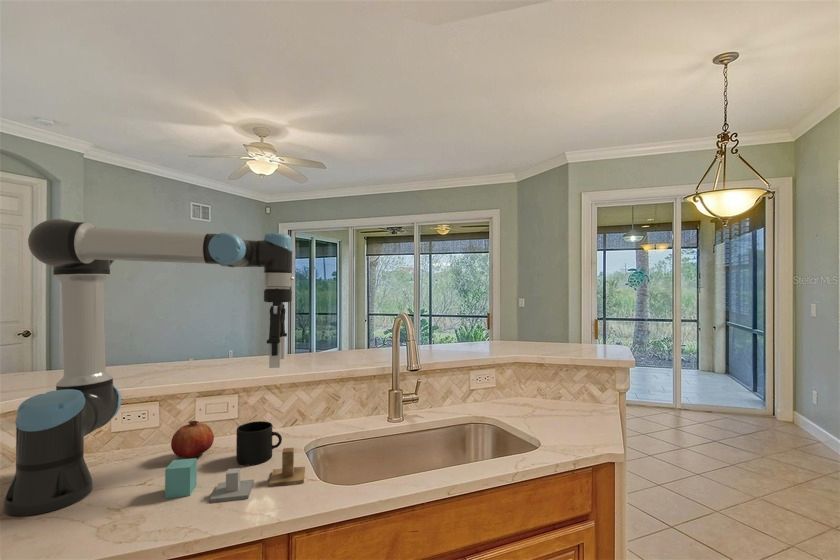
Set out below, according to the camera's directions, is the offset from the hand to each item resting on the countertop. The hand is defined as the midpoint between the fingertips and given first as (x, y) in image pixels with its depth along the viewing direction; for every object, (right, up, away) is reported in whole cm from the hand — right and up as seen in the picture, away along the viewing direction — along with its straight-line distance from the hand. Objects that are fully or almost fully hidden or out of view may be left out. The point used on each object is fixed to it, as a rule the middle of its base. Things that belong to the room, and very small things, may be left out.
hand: (277, 363), depth 119 cm
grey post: (-4, -26, -20) cm, 33 cm away
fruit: (-24, -27, +1) cm, 36 cm away
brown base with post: (+7, -27, -13) cm, 30 cm away
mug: (-5, -27, 0) cm, 27 cm away
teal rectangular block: (-16, -26, -20) cm, 37 cm away
